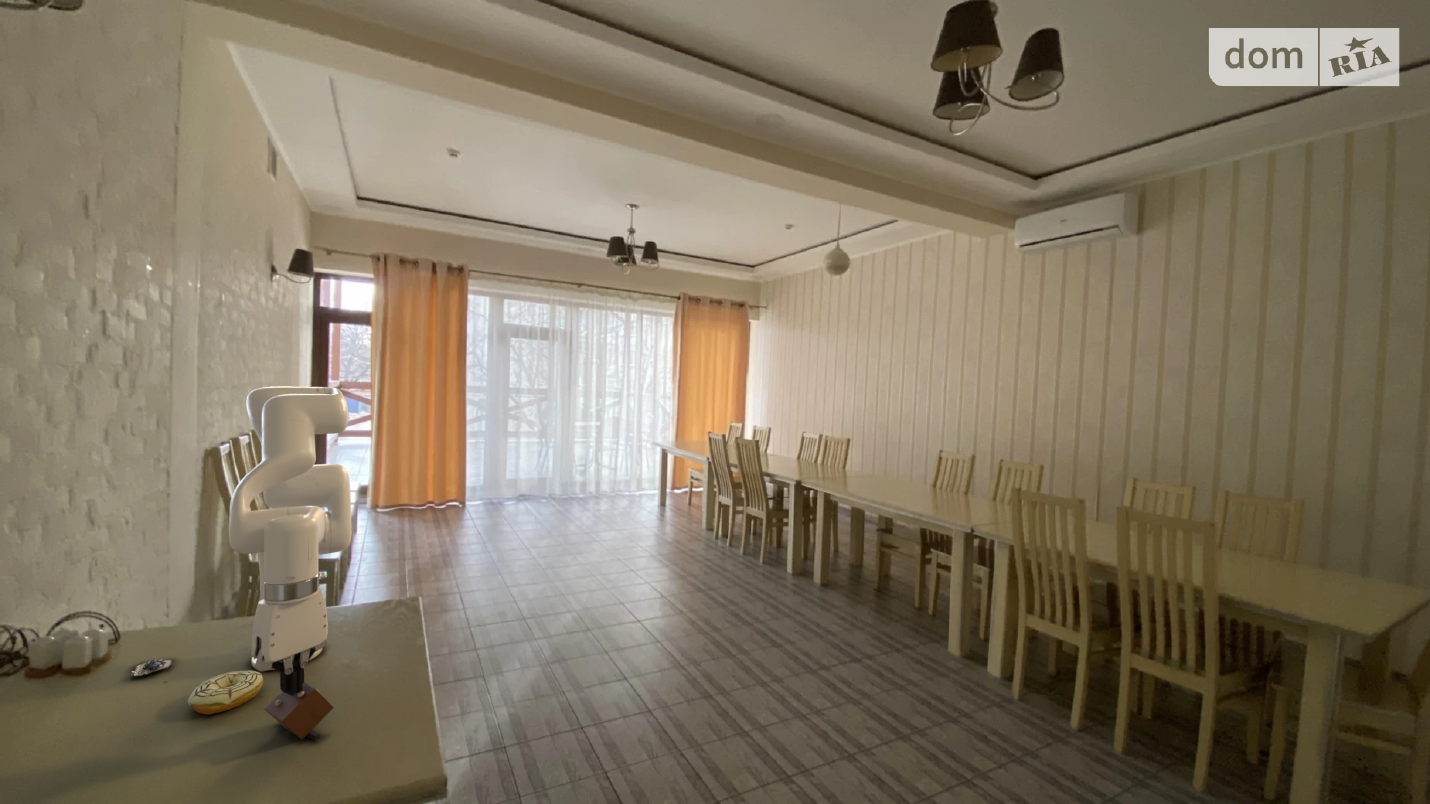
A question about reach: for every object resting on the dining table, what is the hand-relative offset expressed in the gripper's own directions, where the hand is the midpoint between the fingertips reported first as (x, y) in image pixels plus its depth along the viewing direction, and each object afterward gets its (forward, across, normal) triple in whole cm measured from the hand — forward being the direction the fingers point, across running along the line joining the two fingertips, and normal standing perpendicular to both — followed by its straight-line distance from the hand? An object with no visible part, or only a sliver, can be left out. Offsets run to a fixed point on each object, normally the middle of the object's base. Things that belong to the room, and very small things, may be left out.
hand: (292, 691), depth 98 cm
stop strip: (+8, -2, 0) cm, 8 cm away
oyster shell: (+8, 0, -49) cm, 50 cm away
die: (+5, +1, 0) cm, 5 cm away
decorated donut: (+8, -1, -22) cm, 24 cm away
